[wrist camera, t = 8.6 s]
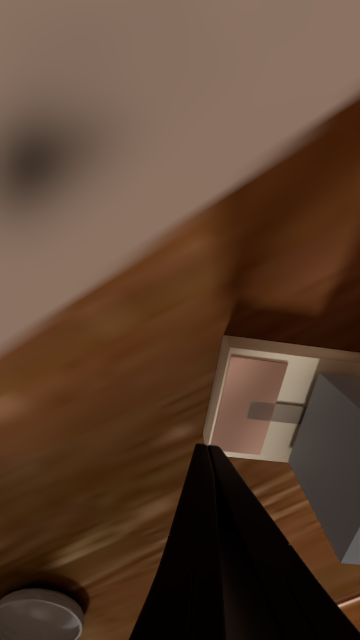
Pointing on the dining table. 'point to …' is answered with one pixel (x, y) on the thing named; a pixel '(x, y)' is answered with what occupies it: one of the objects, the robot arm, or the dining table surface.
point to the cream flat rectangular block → (266, 394)
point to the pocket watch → (40, 616)
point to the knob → (332, 461)
